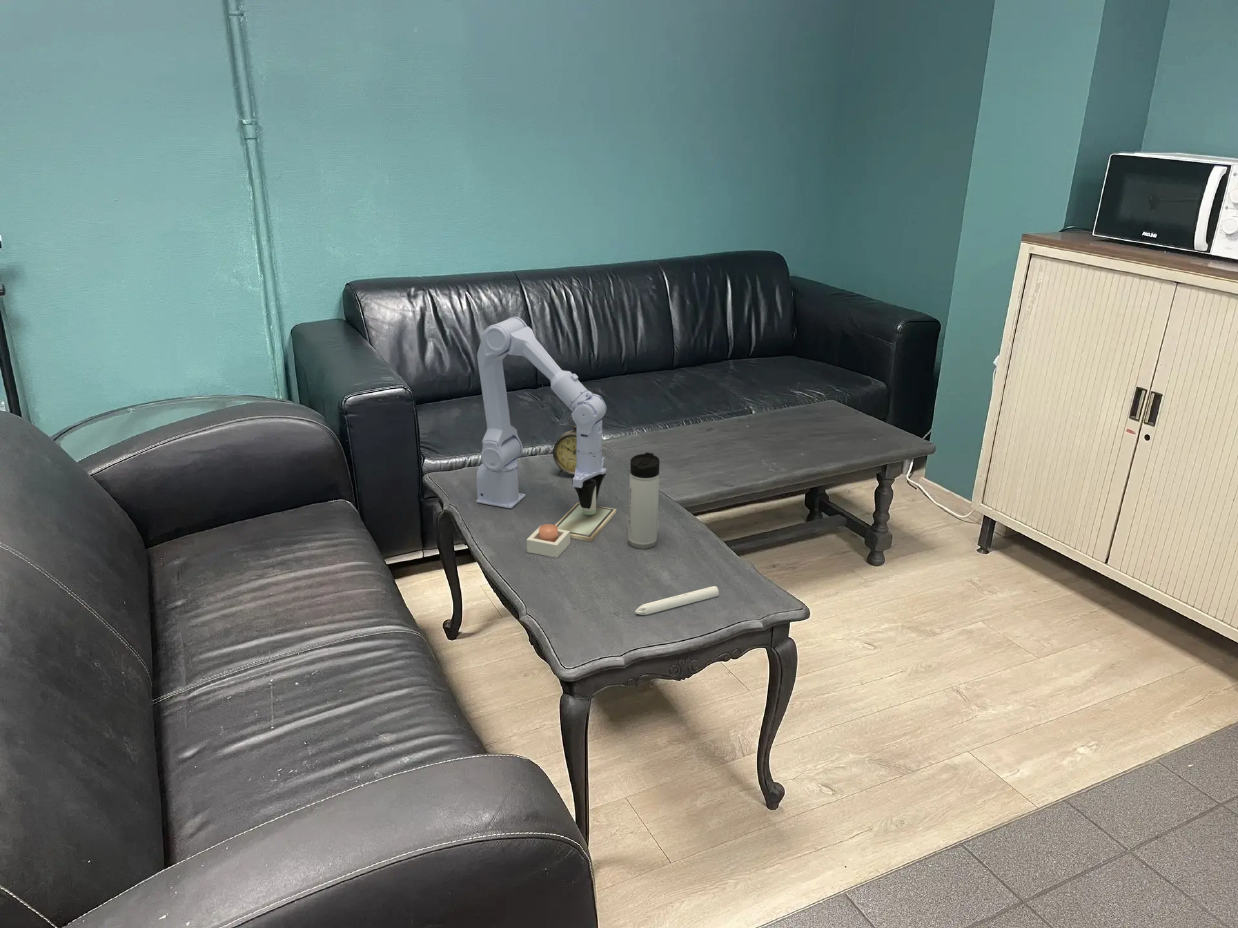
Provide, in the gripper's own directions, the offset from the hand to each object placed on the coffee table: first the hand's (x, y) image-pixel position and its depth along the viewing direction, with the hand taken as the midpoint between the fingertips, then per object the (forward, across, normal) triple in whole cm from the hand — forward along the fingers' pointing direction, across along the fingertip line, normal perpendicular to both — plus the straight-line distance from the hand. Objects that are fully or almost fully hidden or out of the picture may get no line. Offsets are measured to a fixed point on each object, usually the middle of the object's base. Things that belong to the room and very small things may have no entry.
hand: (588, 504), depth 197 cm
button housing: (+3, -17, +2) cm, 18 cm away
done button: (+2, -17, +2) cm, 17 cm away
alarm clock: (+4, +22, +12) cm, 26 cm away
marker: (+4, -29, -30) cm, 42 cm away
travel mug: (+4, -7, -16) cm, 17 cm away
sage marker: (+2, 0, 0) cm, 2 cm away
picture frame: (+3, -3, 0) cm, 5 cm away
